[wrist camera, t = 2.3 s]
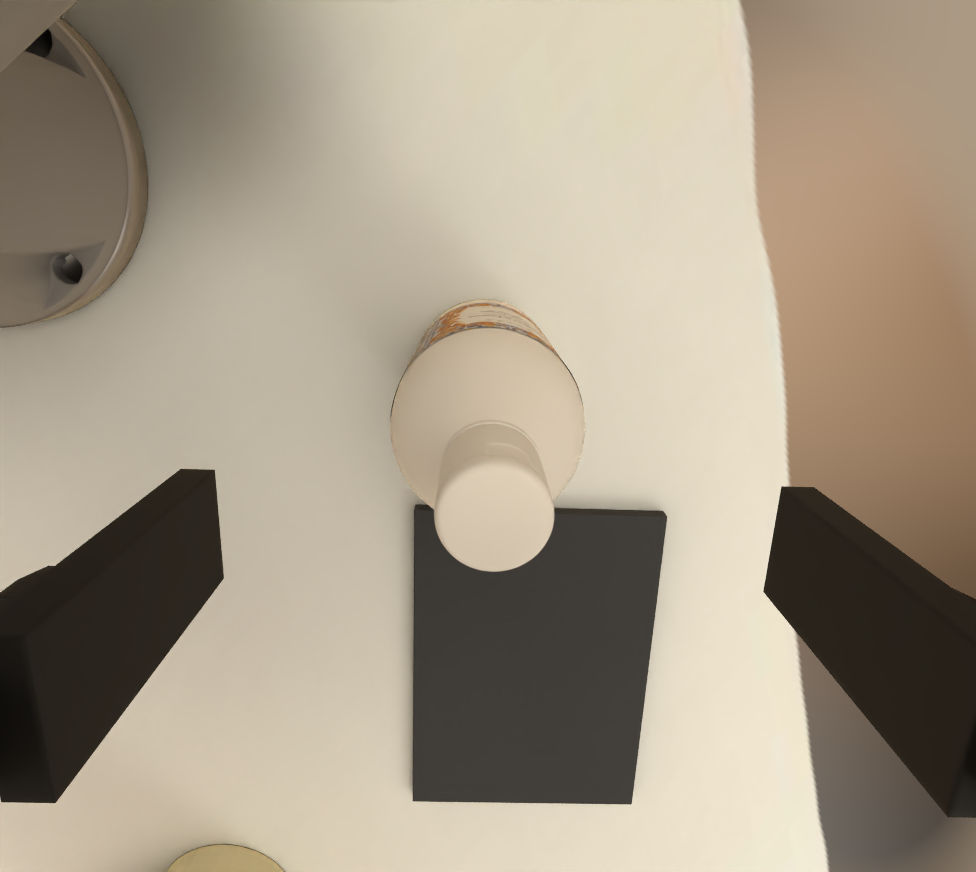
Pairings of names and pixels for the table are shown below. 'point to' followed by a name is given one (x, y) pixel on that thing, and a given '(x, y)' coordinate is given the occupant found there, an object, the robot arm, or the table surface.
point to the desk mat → (535, 663)
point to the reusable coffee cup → (224, 860)
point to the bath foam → (488, 432)
